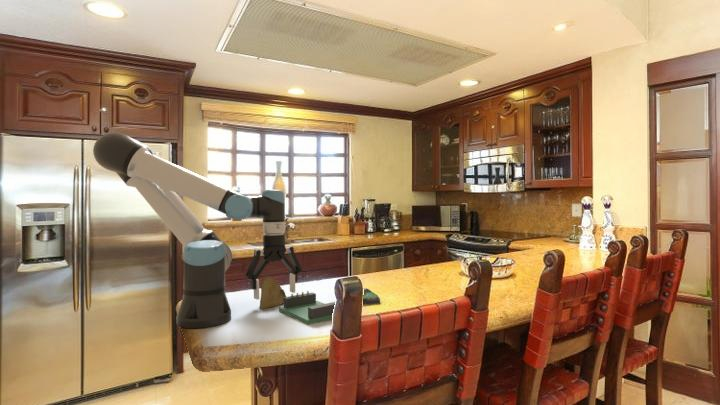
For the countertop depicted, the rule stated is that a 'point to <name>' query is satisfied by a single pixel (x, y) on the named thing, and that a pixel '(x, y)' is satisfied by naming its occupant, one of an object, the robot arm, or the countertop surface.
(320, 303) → the socket board
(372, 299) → the disk drive
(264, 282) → the rock
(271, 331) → the countertop surface
